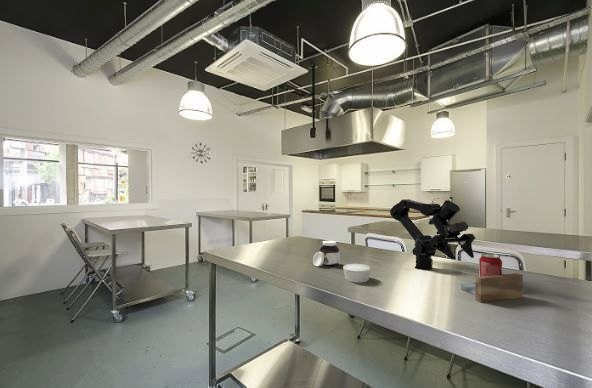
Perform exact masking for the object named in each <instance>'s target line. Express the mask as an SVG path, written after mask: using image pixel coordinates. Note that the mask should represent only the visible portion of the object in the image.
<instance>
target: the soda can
mask: <svg viewBox="0 0 592 388" xmlns="http://www.w3.org/2000/svg"><path fill="white" fill-rule="evenodd" d="M480 255H481V256H480V257H479V259H478V265H479V266H478V277H480V276H491V275H502V274H503V260H502V259H501V256H500V255H498V254H495V253H481V254H480Z"/></svg>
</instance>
